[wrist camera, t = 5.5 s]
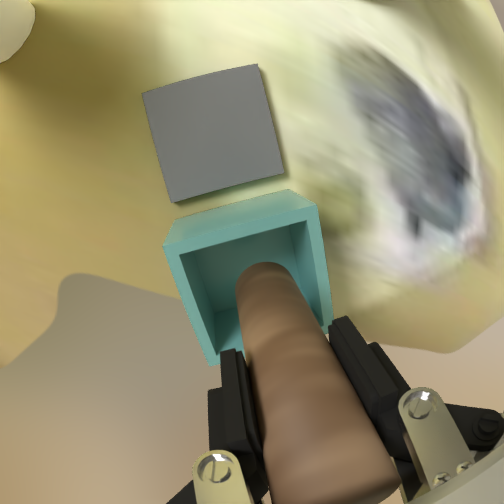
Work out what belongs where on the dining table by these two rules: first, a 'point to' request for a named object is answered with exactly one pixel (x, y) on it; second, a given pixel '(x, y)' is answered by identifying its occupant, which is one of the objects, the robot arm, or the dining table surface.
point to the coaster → (213, 132)
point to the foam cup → (14, 25)
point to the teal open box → (245, 261)
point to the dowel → (306, 400)
